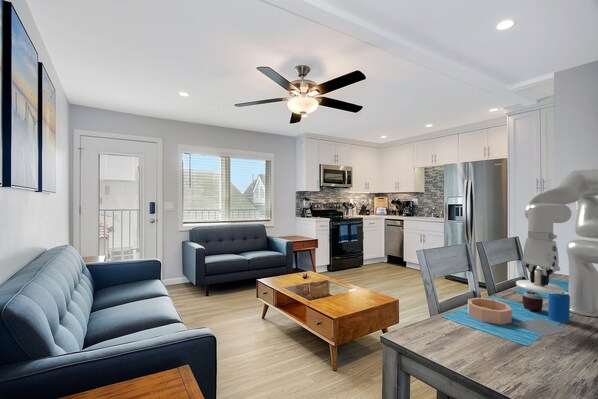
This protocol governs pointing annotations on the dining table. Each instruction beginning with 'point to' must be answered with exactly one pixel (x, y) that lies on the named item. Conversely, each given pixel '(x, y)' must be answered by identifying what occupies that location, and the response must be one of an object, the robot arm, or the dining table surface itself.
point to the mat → (541, 327)
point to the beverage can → (559, 307)
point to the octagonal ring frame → (489, 311)
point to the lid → (539, 284)
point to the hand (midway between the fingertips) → (539, 283)
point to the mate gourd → (532, 300)
